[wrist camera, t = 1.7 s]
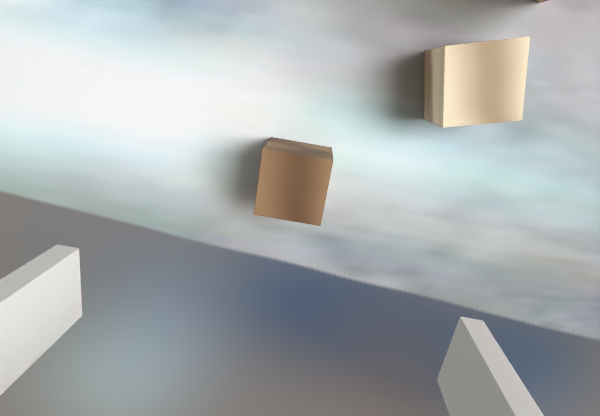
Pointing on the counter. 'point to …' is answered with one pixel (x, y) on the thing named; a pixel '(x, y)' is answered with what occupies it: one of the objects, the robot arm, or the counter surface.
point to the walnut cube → (293, 181)
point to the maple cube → (476, 82)
